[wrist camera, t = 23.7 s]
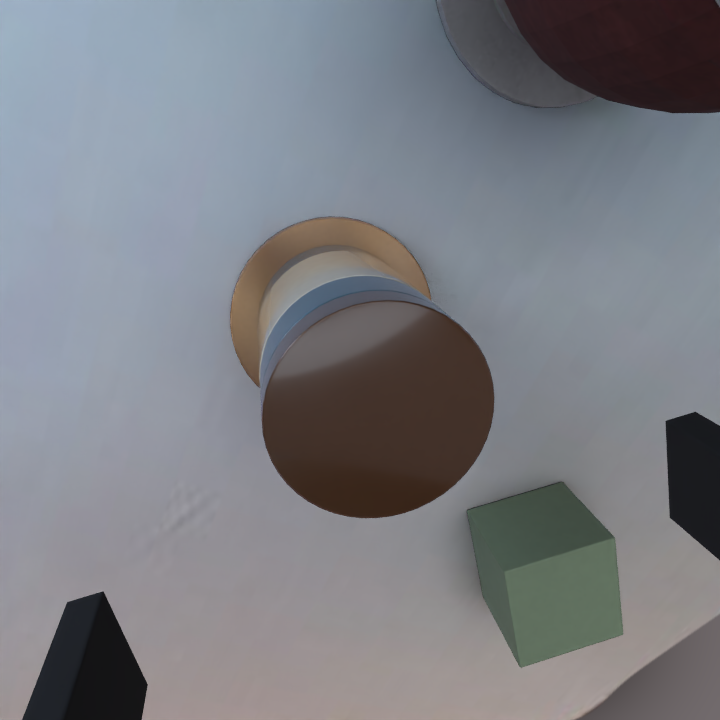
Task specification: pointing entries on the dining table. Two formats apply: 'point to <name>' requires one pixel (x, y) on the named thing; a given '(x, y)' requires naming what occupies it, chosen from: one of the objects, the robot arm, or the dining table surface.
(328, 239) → the coaster
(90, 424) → the dining table surface
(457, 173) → the dining table surface
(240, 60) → the dining table surface
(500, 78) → the mate gourd
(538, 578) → the block
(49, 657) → the robot arm
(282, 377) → the jar
